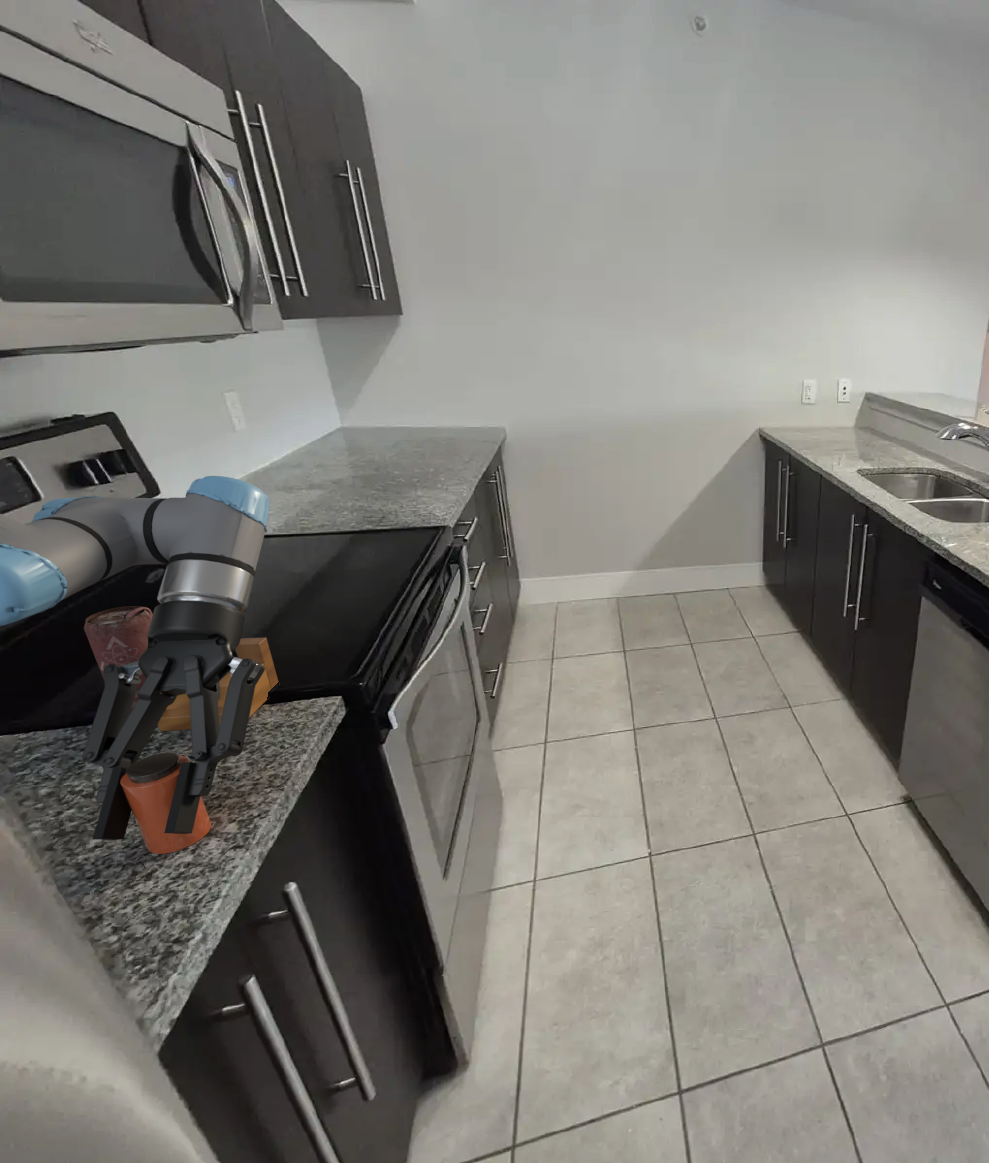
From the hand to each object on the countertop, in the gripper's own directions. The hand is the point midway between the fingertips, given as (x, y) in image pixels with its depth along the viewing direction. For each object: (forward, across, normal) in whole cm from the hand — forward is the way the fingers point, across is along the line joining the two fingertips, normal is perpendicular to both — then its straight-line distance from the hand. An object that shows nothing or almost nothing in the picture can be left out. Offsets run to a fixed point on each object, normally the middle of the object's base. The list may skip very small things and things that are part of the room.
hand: (143, 835), depth 61 cm
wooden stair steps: (-18, +9, -23) cm, 30 cm away
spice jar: (0, 0, -5) cm, 5 cm away
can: (-18, +18, -24) cm, 35 cm away
